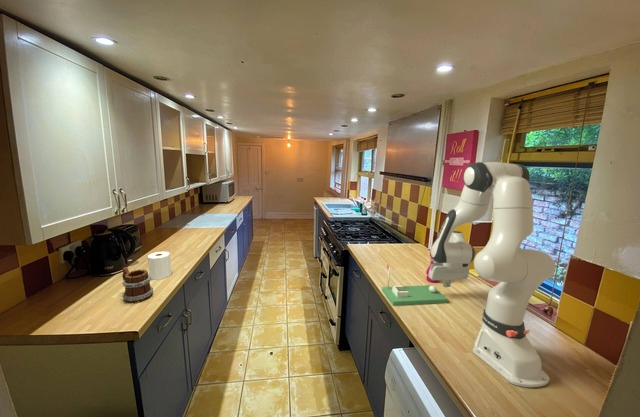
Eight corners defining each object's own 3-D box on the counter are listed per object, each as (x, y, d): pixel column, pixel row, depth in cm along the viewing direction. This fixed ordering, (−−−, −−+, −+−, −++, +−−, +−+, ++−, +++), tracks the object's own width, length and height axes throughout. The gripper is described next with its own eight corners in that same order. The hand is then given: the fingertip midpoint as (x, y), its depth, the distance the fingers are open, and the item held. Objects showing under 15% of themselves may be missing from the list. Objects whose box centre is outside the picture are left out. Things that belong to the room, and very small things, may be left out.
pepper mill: (440, 284, 145) (444, 250, 142) (426, 282, 147) (430, 248, 143) (437, 278, 152) (441, 246, 148) (424, 276, 154) (428, 244, 150)
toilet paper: (145, 279, 138) (143, 258, 136) (156, 271, 148) (154, 251, 146) (164, 279, 138) (163, 258, 136) (174, 271, 149) (173, 251, 146)
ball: (437, 293, 131) (438, 287, 130) (430, 293, 130) (431, 287, 130) (433, 290, 134) (434, 284, 133) (427, 290, 134) (428, 284, 133)
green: (447, 302, 126) (451, 276, 124) (392, 305, 122) (395, 278, 119) (429, 287, 141) (432, 263, 139) (380, 289, 137) (382, 264, 135)
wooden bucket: (135, 306, 114) (128, 273, 112) (115, 303, 119) (107, 272, 117) (160, 293, 124) (153, 263, 122) (140, 292, 130) (134, 263, 128)
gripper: (434, 264, 126) (431, 290, 129) (472, 263, 129) (468, 289, 132) (427, 259, 132) (424, 284, 135) (464, 258, 135) (460, 283, 138)
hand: (446, 286), depth 133 cm, fingers closed
